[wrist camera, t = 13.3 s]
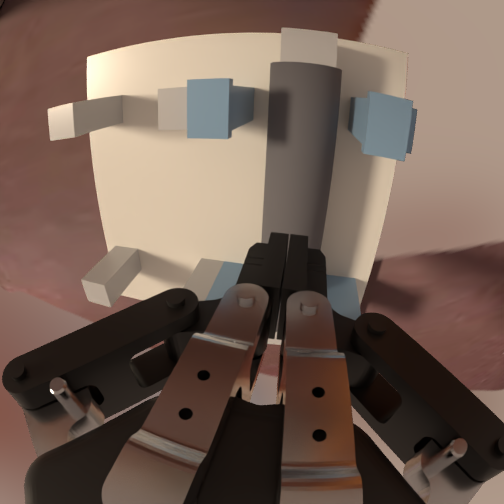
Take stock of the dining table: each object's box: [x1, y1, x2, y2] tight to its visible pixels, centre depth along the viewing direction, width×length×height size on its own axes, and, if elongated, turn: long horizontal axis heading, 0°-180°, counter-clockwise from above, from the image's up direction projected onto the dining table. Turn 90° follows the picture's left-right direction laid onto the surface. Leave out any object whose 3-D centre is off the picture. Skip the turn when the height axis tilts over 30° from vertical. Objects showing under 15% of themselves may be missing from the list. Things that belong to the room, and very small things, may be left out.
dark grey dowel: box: [261, 28, 342, 345], centre depth 17 cm, size 20×4×4 cm, turn 178°
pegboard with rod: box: [48, 33, 417, 320], centre depth 17 cm, size 21×21×6 cm
